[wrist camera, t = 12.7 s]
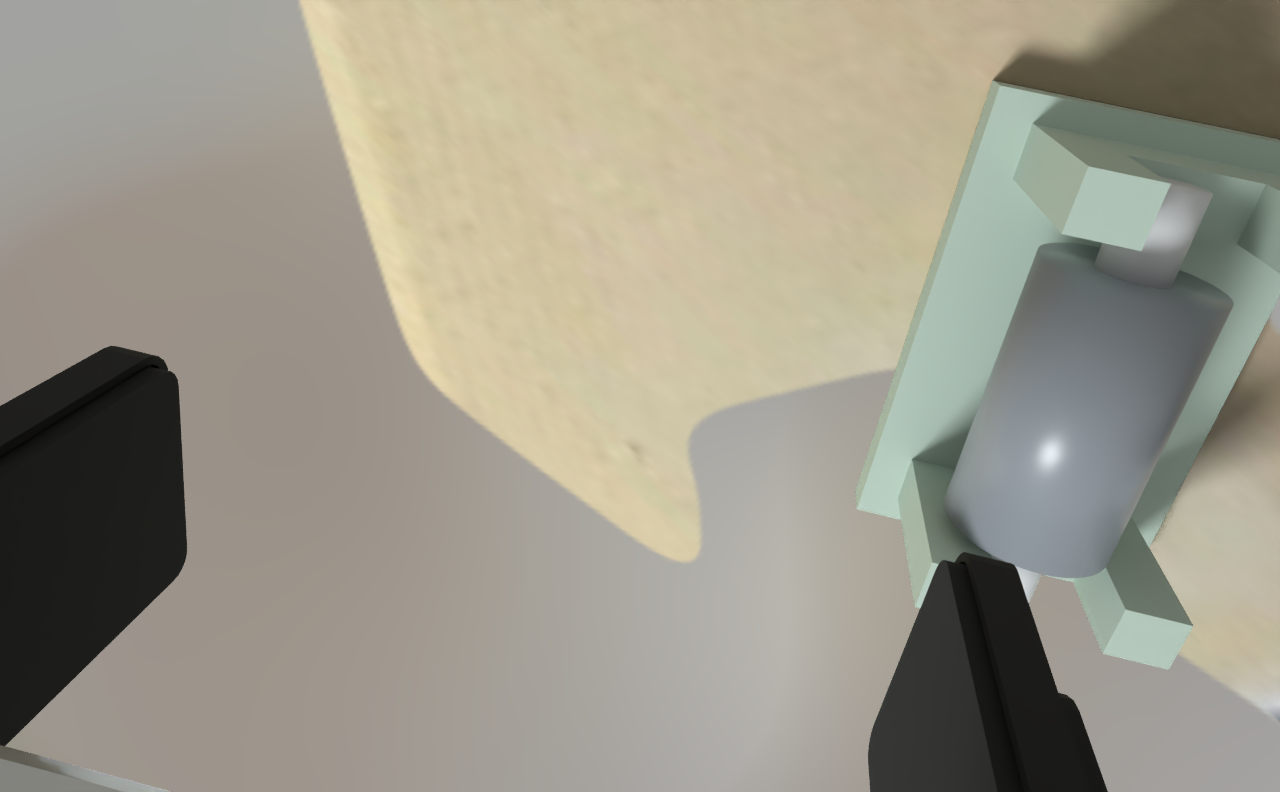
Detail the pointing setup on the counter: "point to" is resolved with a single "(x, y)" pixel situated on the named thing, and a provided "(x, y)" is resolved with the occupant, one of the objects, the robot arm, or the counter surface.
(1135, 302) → the roll
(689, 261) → the counter surface
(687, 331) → the counter surface
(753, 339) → the counter surface
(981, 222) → the cradle
